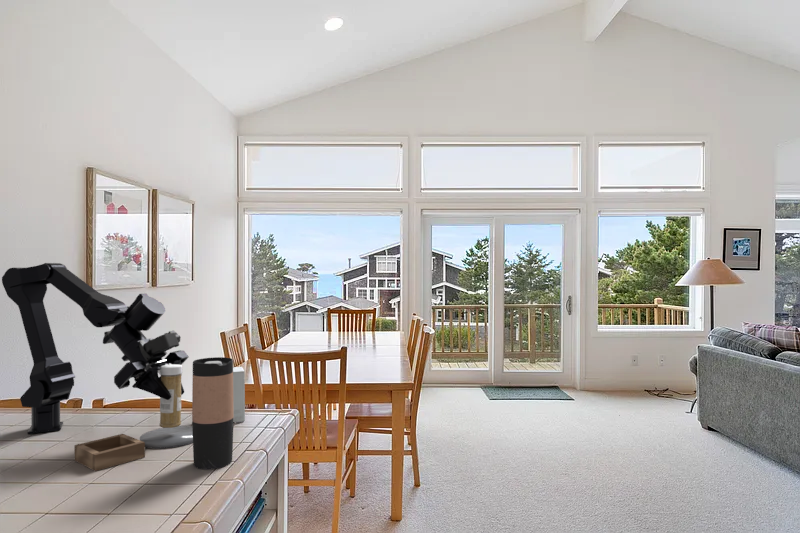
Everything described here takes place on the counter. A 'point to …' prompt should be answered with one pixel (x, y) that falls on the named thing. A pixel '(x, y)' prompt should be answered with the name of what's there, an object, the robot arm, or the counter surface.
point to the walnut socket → (109, 451)
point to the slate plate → (168, 437)
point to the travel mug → (212, 412)
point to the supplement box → (239, 394)
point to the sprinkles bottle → (171, 407)
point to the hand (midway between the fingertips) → (176, 396)
